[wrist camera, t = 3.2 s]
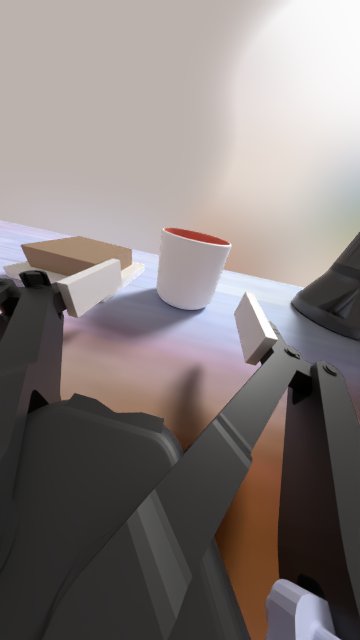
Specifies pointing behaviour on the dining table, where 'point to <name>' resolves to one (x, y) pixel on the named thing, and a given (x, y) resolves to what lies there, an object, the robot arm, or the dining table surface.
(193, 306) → the cup
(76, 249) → the plinth
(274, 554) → the dining table surface
